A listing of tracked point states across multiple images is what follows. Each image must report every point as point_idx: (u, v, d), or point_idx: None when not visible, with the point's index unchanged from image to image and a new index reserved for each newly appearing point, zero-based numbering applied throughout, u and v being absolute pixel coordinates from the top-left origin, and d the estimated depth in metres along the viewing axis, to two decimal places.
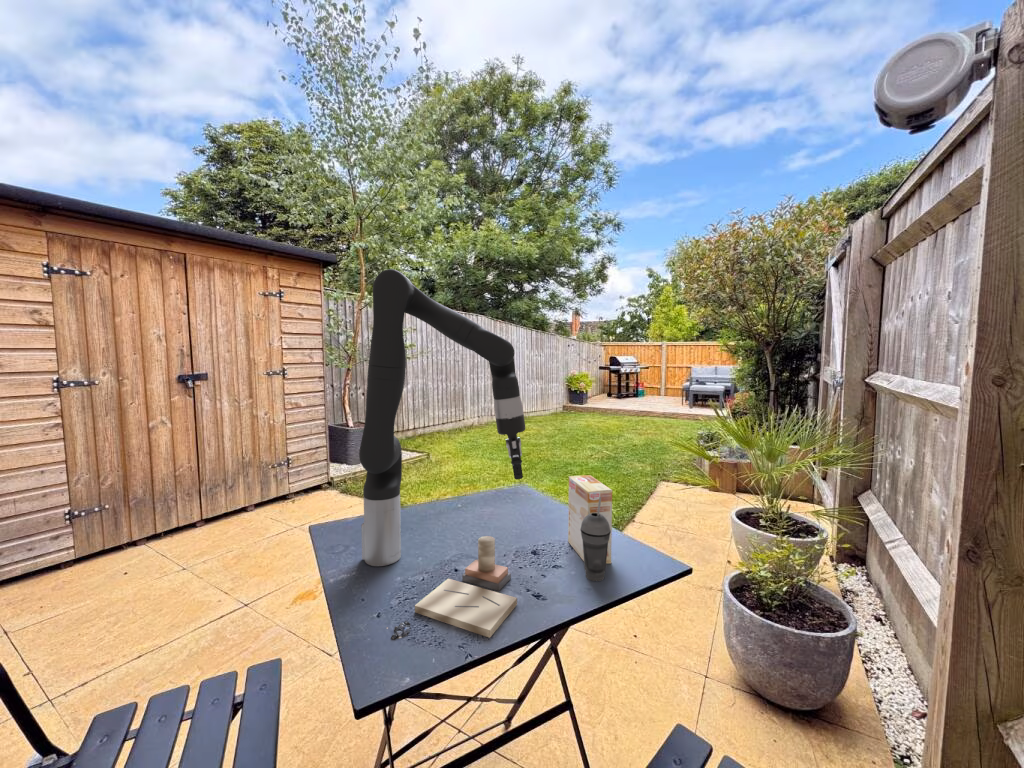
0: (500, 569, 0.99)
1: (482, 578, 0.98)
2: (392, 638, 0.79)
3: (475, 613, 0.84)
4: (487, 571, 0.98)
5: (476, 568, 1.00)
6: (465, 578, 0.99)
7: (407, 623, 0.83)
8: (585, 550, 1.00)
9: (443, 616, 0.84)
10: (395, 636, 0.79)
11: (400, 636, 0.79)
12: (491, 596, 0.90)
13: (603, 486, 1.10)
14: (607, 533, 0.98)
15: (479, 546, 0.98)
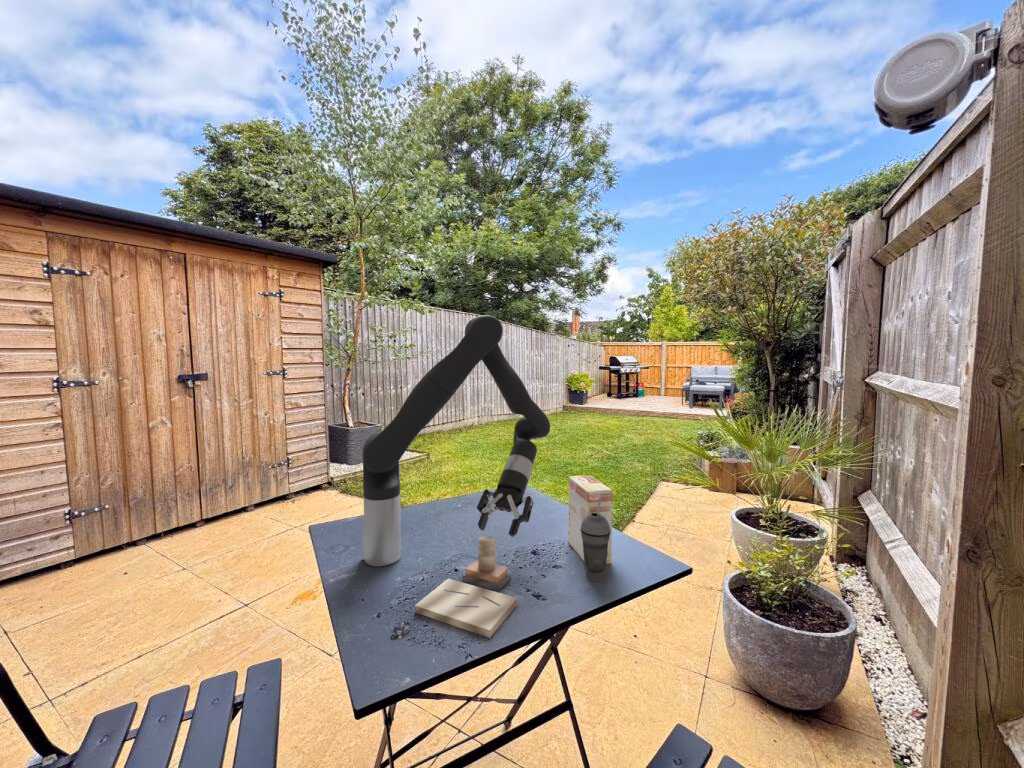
0: (500, 569, 0.99)
1: (482, 578, 0.98)
2: (392, 638, 0.79)
3: (475, 613, 0.84)
4: (487, 571, 0.98)
5: (476, 568, 1.00)
6: (465, 578, 0.99)
7: (407, 623, 0.83)
8: (585, 550, 1.00)
9: (443, 616, 0.84)
10: (395, 635, 0.79)
11: (400, 635, 0.79)
12: (491, 596, 0.90)
13: (603, 486, 1.10)
14: (607, 533, 0.98)
15: (479, 546, 0.98)
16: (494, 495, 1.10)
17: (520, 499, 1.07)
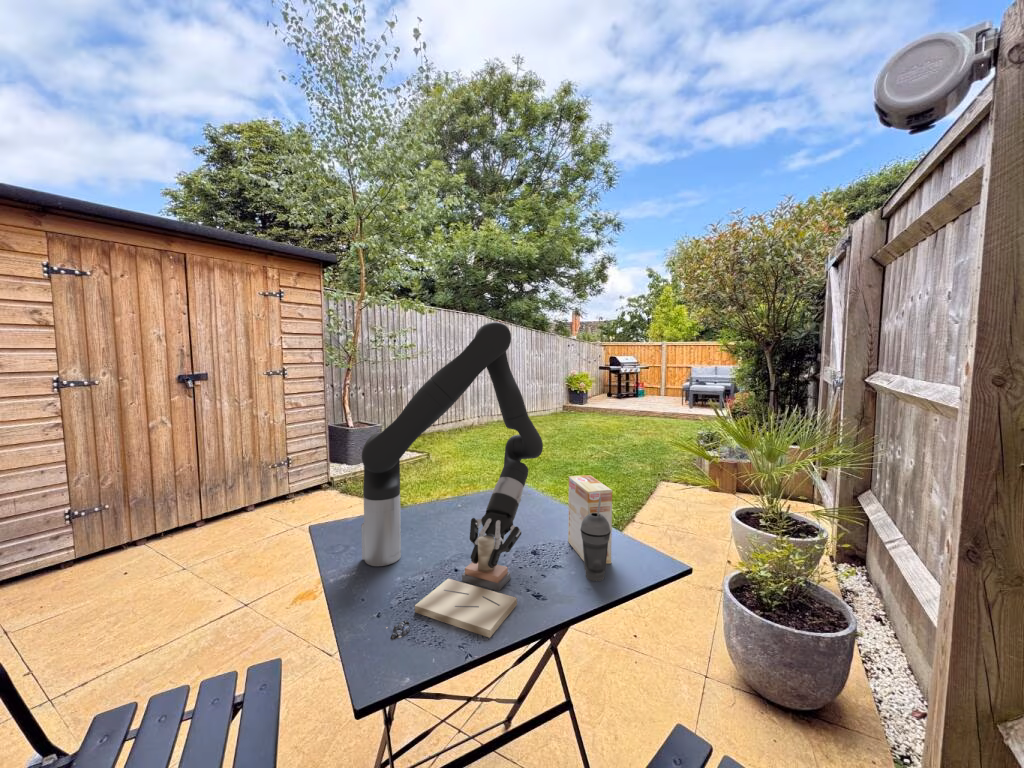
0: (500, 569, 0.99)
1: (481, 578, 0.97)
2: (392, 637, 0.79)
3: (475, 613, 0.84)
4: (486, 570, 0.98)
5: (476, 568, 1.00)
6: (465, 578, 0.99)
7: (406, 622, 0.83)
8: (585, 550, 1.00)
9: (443, 616, 0.84)
10: (395, 635, 0.79)
11: (400, 635, 0.79)
12: (491, 596, 0.90)
13: (603, 486, 1.10)
14: (607, 533, 0.98)
15: (479, 546, 0.98)
16: (483, 521, 1.04)
17: (508, 526, 1.02)
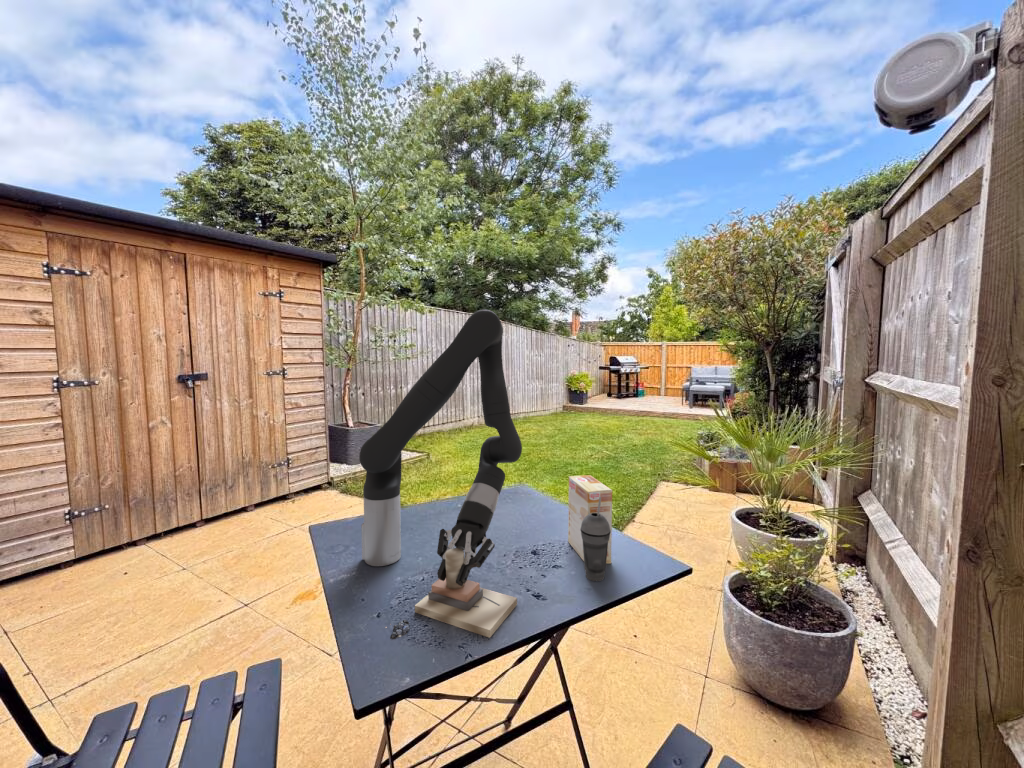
0: (471, 586, 0.89)
1: (449, 596, 0.87)
2: (392, 637, 0.79)
3: (475, 613, 0.84)
4: (455, 587, 0.87)
5: (444, 584, 0.89)
6: (431, 596, 0.89)
7: (406, 622, 0.83)
8: (585, 550, 1.00)
9: (443, 616, 0.84)
10: (395, 635, 0.79)
11: (400, 635, 0.80)
12: (491, 596, 0.90)
13: (603, 486, 1.10)
14: (607, 533, 0.98)
15: (446, 560, 0.88)
16: (453, 532, 0.94)
17: (480, 538, 0.91)
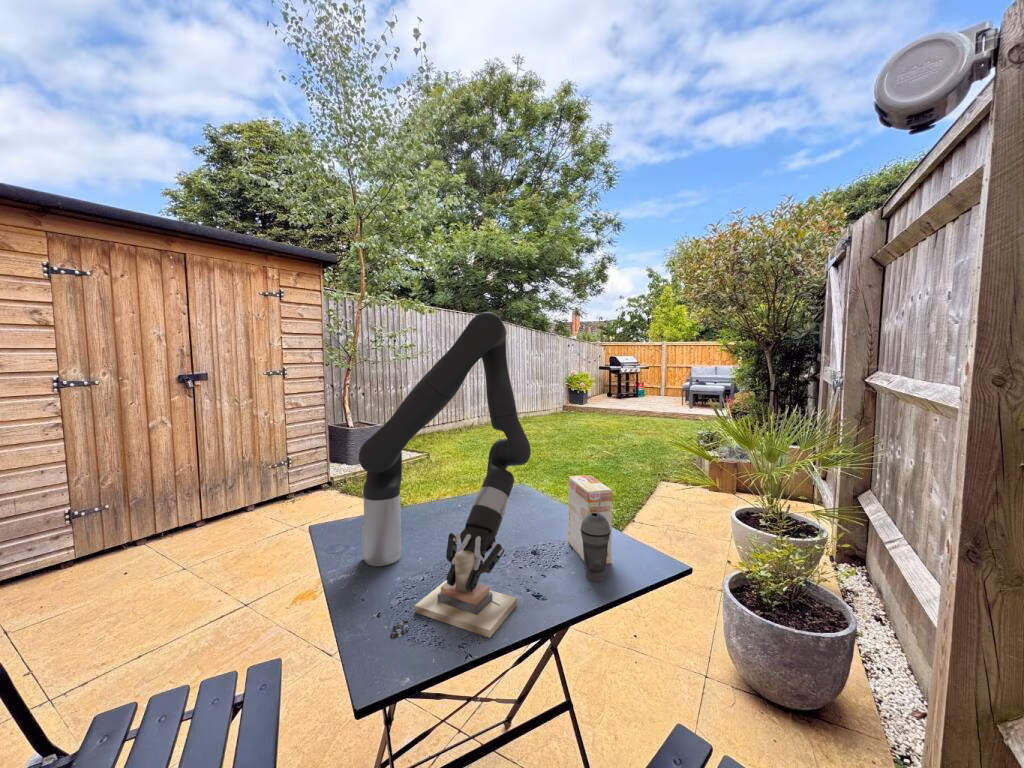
0: (480, 589, 0.87)
1: (459, 599, 0.86)
2: (392, 636, 0.79)
3: None
4: (464, 590, 0.86)
5: (453, 587, 0.88)
6: (441, 598, 0.88)
7: (405, 621, 0.83)
8: (585, 550, 1.00)
9: (443, 616, 0.84)
10: (395, 634, 0.79)
11: (400, 634, 0.80)
12: None
13: (603, 486, 1.10)
14: (607, 533, 0.98)
15: (456, 562, 0.87)
16: (462, 536, 0.93)
17: (490, 543, 0.90)
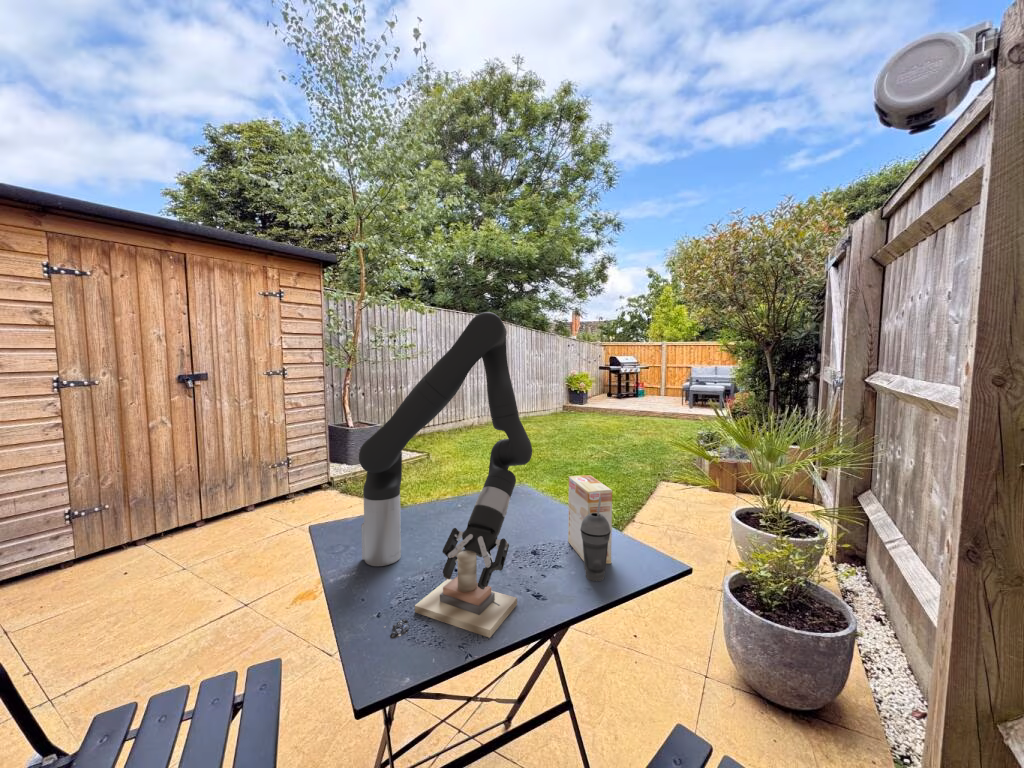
0: (483, 589, 0.87)
1: (461, 599, 0.86)
2: (392, 636, 0.79)
3: None
4: (466, 590, 0.86)
5: (455, 587, 0.88)
6: (443, 598, 0.88)
7: (405, 621, 0.83)
8: (585, 550, 1.00)
9: (443, 616, 0.84)
10: (395, 634, 0.79)
11: (399, 634, 0.80)
12: None
13: (603, 486, 1.10)
14: (607, 533, 0.98)
15: (458, 562, 0.87)
16: (463, 536, 0.93)
17: (493, 542, 0.90)
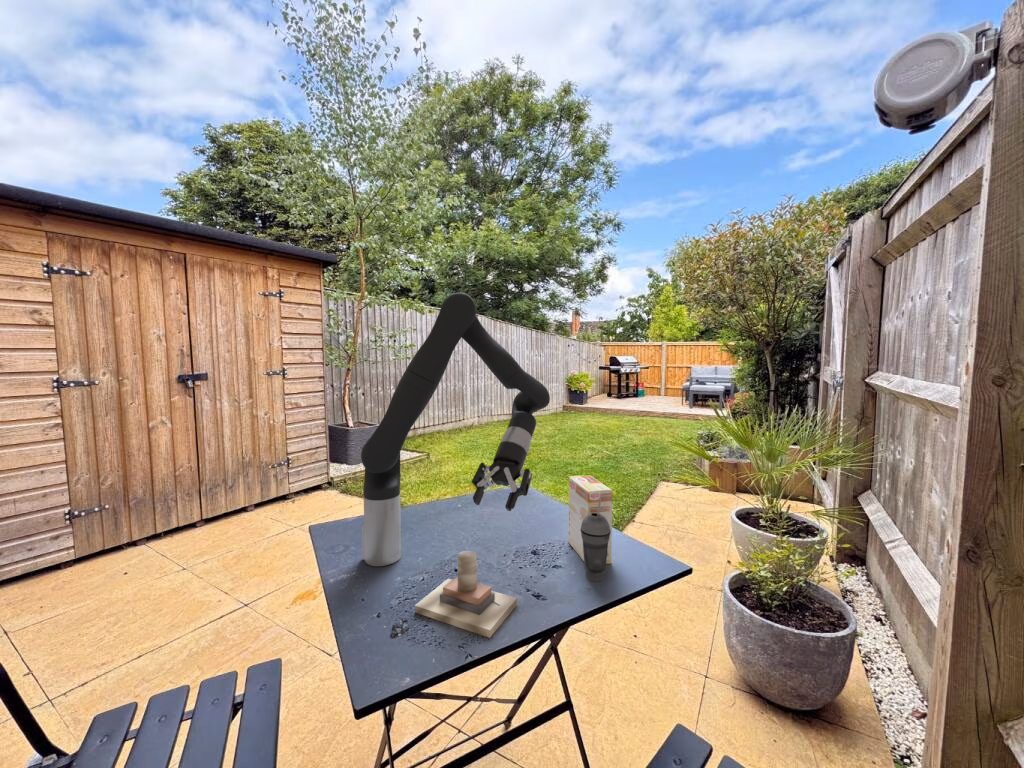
0: (483, 589, 0.87)
1: (461, 599, 0.86)
2: (392, 636, 0.79)
3: None
4: (466, 590, 0.86)
5: (455, 587, 0.88)
6: (443, 598, 0.88)
7: (404, 620, 0.84)
8: (585, 550, 1.00)
9: (443, 616, 0.84)
10: (394, 634, 0.80)
11: (399, 633, 0.80)
12: None
13: (603, 486, 1.10)
14: (607, 533, 0.98)
15: (458, 562, 0.87)
16: (490, 468, 1.03)
17: (518, 472, 1.00)
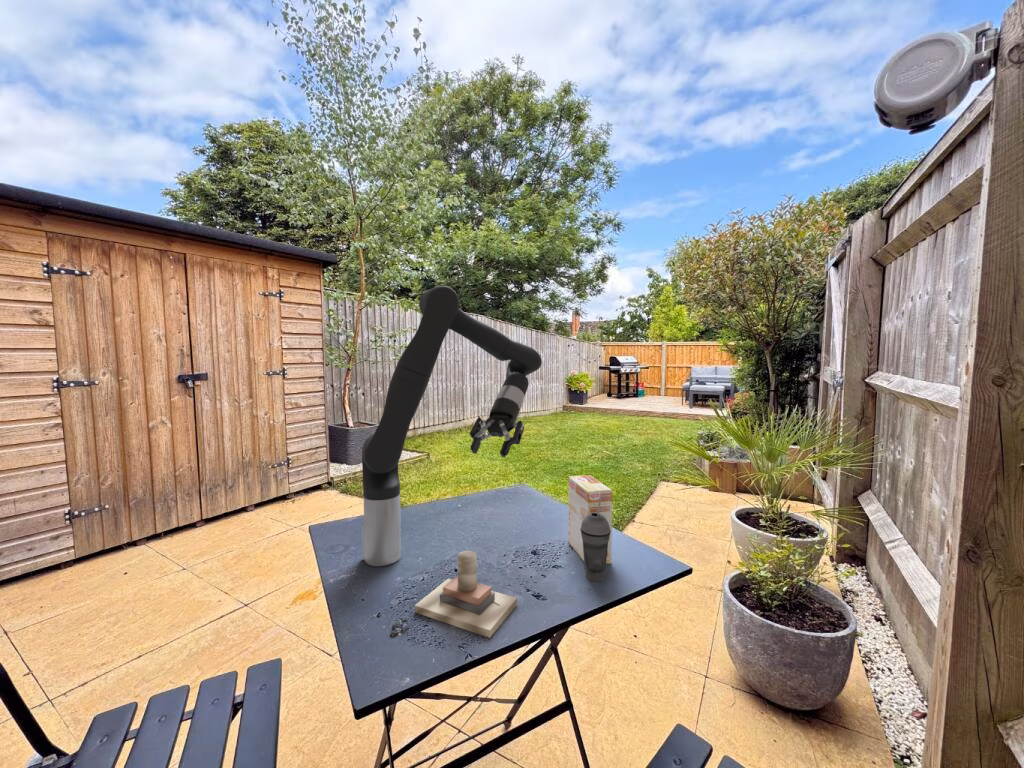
0: (483, 589, 0.87)
1: (461, 599, 0.86)
2: (391, 635, 0.79)
3: None
4: (466, 590, 0.86)
5: (455, 587, 0.88)
6: (443, 598, 0.88)
7: (404, 620, 0.84)
8: (585, 550, 1.00)
9: (443, 616, 0.84)
10: (394, 633, 0.80)
11: (399, 633, 0.80)
12: None
13: (603, 486, 1.10)
14: (607, 533, 0.98)
15: (458, 562, 0.87)
16: (486, 422, 1.13)
17: (511, 424, 1.10)
